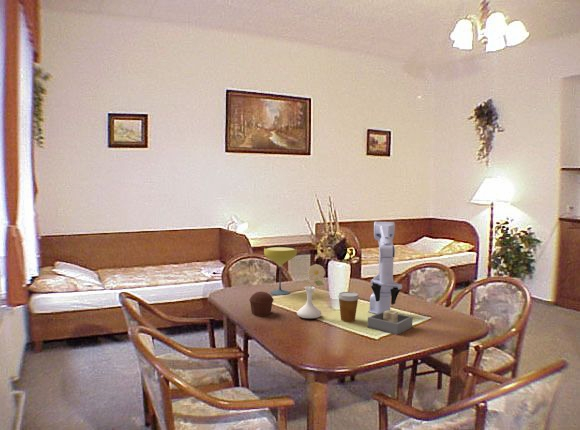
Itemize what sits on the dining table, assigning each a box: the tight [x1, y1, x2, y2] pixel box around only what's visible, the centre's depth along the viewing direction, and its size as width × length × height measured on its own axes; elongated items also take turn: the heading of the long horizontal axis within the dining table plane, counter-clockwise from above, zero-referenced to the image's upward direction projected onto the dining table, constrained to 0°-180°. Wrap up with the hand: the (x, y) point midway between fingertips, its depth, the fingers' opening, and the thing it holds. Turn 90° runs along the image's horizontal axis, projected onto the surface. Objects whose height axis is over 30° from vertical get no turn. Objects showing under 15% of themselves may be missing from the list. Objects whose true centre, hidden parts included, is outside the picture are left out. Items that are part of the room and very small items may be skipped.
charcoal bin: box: [367, 311, 414, 336], centre depth 208 cm, size 14×14×4 cm
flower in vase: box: [296, 263, 326, 319], centre depth 221 cm, size 13×11×25 cm
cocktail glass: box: [263, 245, 298, 296], centre depth 266 cm, size 18×18×25 cm
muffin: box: [249, 291, 274, 317], centre depth 227 cm, size 12×11×10 cm
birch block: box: [383, 309, 399, 323], centre depth 208 cm, size 4×4×6 cm
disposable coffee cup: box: [337, 291, 360, 323], centre depth 218 cm, size 10×10×12 cm
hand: (385, 302), depth 213 cm, fingers open, 7 cm apart
